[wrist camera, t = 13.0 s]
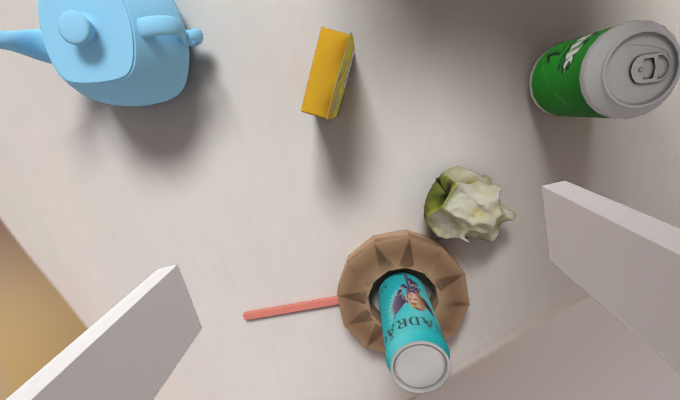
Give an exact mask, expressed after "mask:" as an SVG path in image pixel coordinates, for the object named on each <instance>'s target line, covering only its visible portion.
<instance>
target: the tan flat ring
mask: <svg viewBox="0 0 680 400" xmlns="http://www.w3.org/2000/svg"><path fill="white" fill-rule="evenodd" d="M402 268H409V269H412V270H415V271H418V272H421V273H424V274H425V275H426V276H427V277H428V278H429V279H430V281H431V282H432V286H433V292H432V295H431V297H430V299H429V300H430V302H431V305H432V308H433V310H434V313H435V315H436V318H437V320H438V323H439V326H440V328H441V331H442V333H443V336H444V338H445V341H446V340H448V339H449V338H451V337H452V336H453V335H455V334H456V333H457V331H458V329H459V326H460V324H461V322H462V320H463V318H464V316H465V313H466V311H467V309H468V307H469V298H468V291H467V284H466V277H465V273H464V271H463V270H462V268H461V267H460V265H459V264H458V263H457V261H456V260H455V259H454V258H453V257H452V256H451V255H450V254H449V252H448V251H447V250H446V249H445V248H444V247H443V246H442V244H441V243H440V242H439V241H438V240H437V239H433V238H430V237H427V236H424V235H421V234H418V233H415V232H412V231H409V230H401V231H395V232H390V233H385V234H379V235H374V236H372V237H371V238H370V239H368V240H367V241H366V242H365V243H364V244H362V245H361V246H360V247H359V248H357V249H356V250H355V251H354V252H353V253H351V254H350V255H349V256H348V258H347V261H346V264H345V267H344V270H343V272H342V275H341V278H340V281H339V284H338V293H337V297H338V301H339V306H340V310H341V314H342V319H343V323H344V326H345V327H346V328H347V329H348V330H349V331H350V332H351V333H352V334H353V335H354V336H355V337H356V338H357V339H358V340H359V341H360V342H361V343H362V344H363V345H364V346H365V347H366V348H368V349H371V350H374V351H377V352H381V353H384V354H385V347H384V339H383V331H382V323H381V315H380V311H379V310H378V309H377V308H376V307H375V306H374V305H373V304H372V303H371V302H370V298H369V294H370V291H371V288H372V286H373V283H374V282H375V281H376V280H377V279H378V278H380V277H381V276H382V275H383V274H385V273H386V272H387V271H390V270H396V269H402Z"/></svg>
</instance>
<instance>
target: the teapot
mask: <svg viewBox="0 0 680 400" xmlns="http://www.w3.org/2000/svg"><path fill="white" fill-rule="evenodd" d="M38 13H39V22H40V28H41V29H30V30H17V31H0V49H6V50H10V51H14V52H17V53H20V54H23V55H26V56H29V57H31V58H34V59H37V60H40V61H43V62H47V63H51V64H53V66H54V68H55V69H56V71H57V72H58V74H59V75H60V76H61V77H62V78H63V79H64V80H65V81H66V82H67V83H68V84H69V85H71V86H72V87H73V88H74V89H76V90H77V91H78V92H80V93H81V94H83V95H85V96H87V97H88V98H90V99H93V100H95V101H98V102H102V103H105V104H109V105H118V106H146V105H153V104H157V103H162V102H165V101H168V100H171V99H173V98H174V97H176V96H177V95H179V94H180V93H181V91H182V90H183V88H184V86H185V84H186V81H187V77H188V70H189V46H195V45H199V44H201V43H202V41H203V34H202V31H201V30H200V29H199V28H195V29H190V30H186V29H185V25H184V22H183V19H182V17H181V14H180V12H179V10H178V7H177V5H176V3H175V2H174V0H38Z"/></svg>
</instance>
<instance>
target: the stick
mask: <svg viewBox="0 0 680 400" xmlns="http://www.w3.org/2000/svg"><path fill="white" fill-rule="evenodd" d="M337 304H339V301H338V297H337V296H336V297H330V298H324V299H318V300H312V301H307V302H301V303H295V304H289V305H283V306H278V307H272V308H266V309H260V310H254V311H249V312H244V314H243V316H244V320H249V319H255V318H260V317H266V316H272V315H278V314H284V313H290V312H296V311H302V310H307V309H313V308H319V307H325V306H331V305H337Z"/></svg>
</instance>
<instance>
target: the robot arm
mask: <svg viewBox="0 0 680 400" xmlns="http://www.w3.org/2000/svg"><path fill="white" fill-rule="evenodd" d="M541 188H542V197H543V206H544V214H545V223H546V232H547V241H548V250H549V258H550V261H551V262H552V263H553V264H554V265H556V266H557V267H558V268H559V269H560V270H561V271H562V272H564V273H565V274H566V275H567V276H568V277H569V278H570V279H572V280H573V281H574V282H575V283H576V284H577V285H578V286H580V287H581V288H582V289H583V290H584V291H585V292H587V293H588V294H589V295H590V296H591V297H592V298H593V299H595V300H596V301H597V302H598V303H599V304H600V305H602V306H603V307H604V308H605V309H606V310H607V311H608V312H610V313H611V314H612V315H613V316H614V317H615V318H616V319H617V320H619V321H620V322H621V323H622V324H623V325H624V326H626V327H627V328H628V329H629V330H630V331H631V332H632V333H634V334H635V335H636V336H637V337H638V338H639V339H640V340H642V341H643V342H644V343H645V344H646V345H647V346H649V347H650V348H651V349H652V350H653V351H654V352H655V353H657V354H658V355H659V356H660V357H661V358H662V359H663V360H665V361H666V362H667V363H668V364H669V365H670V366H671V367H673V368H674V369H675V370H676V371H677V372H678V373H680V228H678V227H675V226H673V225H671V224H668V223H666V222H663V221H661V220H658V219H656V218H654V217H651V216H649V215H646V214H644V213H642V212H639V211H637V210H634V209H632V208H630V207H627V206H625V205H622V204H620V203H618V202H615V201H613V200H610V199H608V198H606V197H603V196H601V195H598V194H596V193H594V192H591V191H589V190H586V189H584V188H582V187H579V186H577V185H574V184H572V183H570V182H567V181H561V182H557V183H552V184H548V185H543V186H541ZM201 329H202V326H201V324H200V321H199V318H198V316H197V313H196V311H195V308H194V306H193V303H192V300H191V298H190V295H189V293H188V290H187V287H186V285H185V282H184V280H183V277H182V275H181V272H180V269H179V267H178V264H177V265H173V266H168V267H164V268H159V269H158V270H156V271H155V272H154V273H153V274H152V275H151V276H149V277H148V278H147V279H146V280H145V281H144V282H142V283H141V284H140V285H139V286H138V287H137V288H135V289H134V290H133V291H132V292H131V293H130V294H128V295H127V296H126V297H125V298H124V299H123V300H121V301H120V302H119V303H118V304H117V305H116V306H114V307H113V308H112V309H111V310H110V311H109V312H107V313H106V314H105V315H104V316H103V317H102V318H100V319H99V320H98V321H97V322H96V323H95V324H93V325H92V326H91V327H90V328H89V329H88V330H86V332H84V333H83V334H82V335H81V336H79V337H78V338H77V339H76V340H75V341H74V342H73V343H71V344H70V345H69V346H68V347H67V348H65V349H64V350H63V351H62V352H61V353H60V354H58V355H57V356H56V357H55V358H54V359H53V360H51V361H50V362H49V363H48V364H47V365H46V366H44V367H43V368H42V369H41V370H40V371H39V372H37V373H36V374H35V375H34V376H33V377H32V378H31V379H29V380H28V381H27V382H26V383H25V384H23V385H22V386H21V387H20V388H19V389H18V390H17V391H15V392H14V393H13V394H12V395H11V396H10V397H8V398H7V399H6V400H153V399H154V398H155V396H156V395H157V393H158V392H159V390H160V389H161V387H162V386H163V385H164V383H165V382H166V380H167V379H168V377H169V376H170V374H171V373H172V371H173V370H174V368H175V367H176V365H177V364H178V363H179V361H180V360H181V358H182V357H183V355H184V354H185V352H186V351H187V349H188V348H189V346H190V345H191V343H192V342H193V341H194V339H195V338H196V336H197V335H198V333H199V332H200V330H201Z"/></svg>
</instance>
